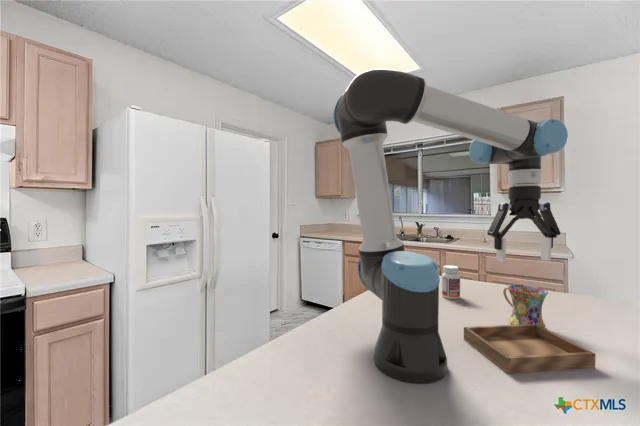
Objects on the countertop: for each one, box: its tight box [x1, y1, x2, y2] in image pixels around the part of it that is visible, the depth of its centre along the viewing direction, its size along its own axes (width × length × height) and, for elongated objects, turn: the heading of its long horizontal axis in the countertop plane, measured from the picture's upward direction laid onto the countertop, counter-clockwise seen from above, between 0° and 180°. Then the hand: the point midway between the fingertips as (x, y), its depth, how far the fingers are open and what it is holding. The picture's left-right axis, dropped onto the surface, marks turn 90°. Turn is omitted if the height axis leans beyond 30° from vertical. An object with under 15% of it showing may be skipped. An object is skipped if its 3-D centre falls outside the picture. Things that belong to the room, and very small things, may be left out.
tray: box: [463, 324, 596, 374], centre depth 69 cm, size 20×16×3 cm
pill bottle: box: [441, 264, 461, 300], centre depth 110 cm, size 6×6×11 cm
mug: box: [502, 284, 549, 329], centre depth 85 cm, size 12×9×11 cm
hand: (523, 260), depth 85 cm, fingers open, 13 cm apart
